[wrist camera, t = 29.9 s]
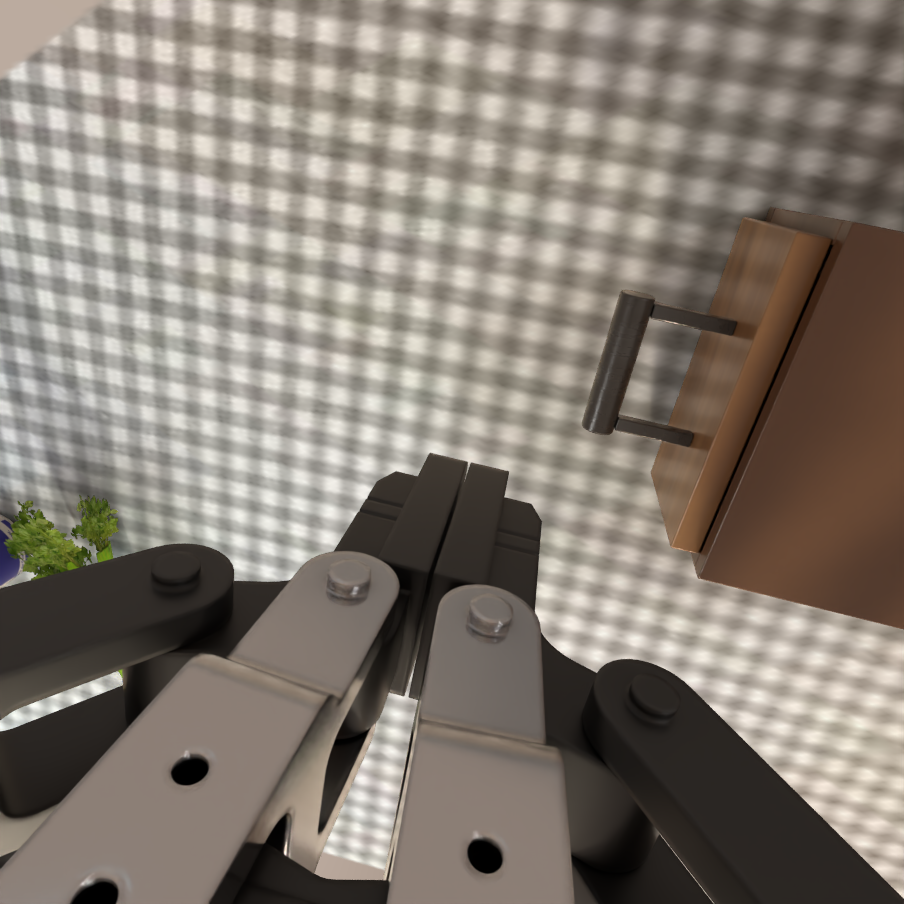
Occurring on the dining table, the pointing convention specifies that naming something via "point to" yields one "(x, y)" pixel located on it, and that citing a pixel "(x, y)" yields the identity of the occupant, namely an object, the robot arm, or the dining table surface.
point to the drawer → (712, 370)
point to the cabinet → (827, 444)
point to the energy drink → (3, 566)
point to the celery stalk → (61, 539)
